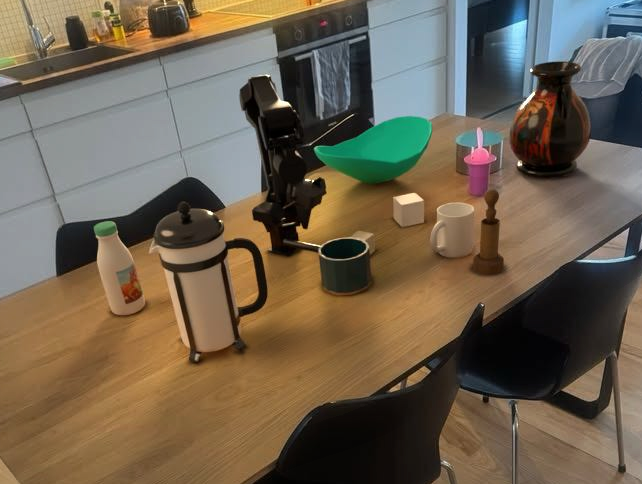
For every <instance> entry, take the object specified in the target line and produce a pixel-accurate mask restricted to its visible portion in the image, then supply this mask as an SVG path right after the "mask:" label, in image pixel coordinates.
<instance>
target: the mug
mask: <svg viewBox="0 0 642 484" xmlns="http://www.w3.org/2000/svg"><path fill="white" fill-rule="evenodd" d="M474 223H475V207H474V206H473V205H472V204H469V203H466V202H449V203H445V204H442V205H440V206H439V207H437V209H436V223H435V225H434V226H433V228H432V230H431V232H430V237H429V244H430V248H431V249H432V250H433V252H436V253H438V254H439V255H440V256H442V257H444V258H450V259H457V258H458V259H460V258H464V257H466V256H469V255H470V254H471V253H472V252H473V248H474V228H475V226H474V225H475V224H474Z"/></svg>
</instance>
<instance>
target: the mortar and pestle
mask: <svg viewBox="0 0 642 484" xmlns="http://www.w3.org/2000/svg"><path fill="white" fill-rule="evenodd" d="M483 199H484V201H485V203H486V205H487V209H485V217H486V218H482V219H481V221H480V240H479V252H478V253H477V254H476V255H474V256H473V259H472V269H473V271H475V272H476V273H478V274H482V275H483V274H484V275H496V274H499V273H501V272H502V271H503V270H504V265H505V263H504V262H505V259H504V256H502V255H501V254H500V253H499V241H500V240H499V239H500V227H501V226H500V225H501V220H500V219H499V218H497V217H496V215H497V212H498V210H497V209H496V207H495V206H496V204H497V203H498V201H499V199H500V194H499V192H498V190H496V189H495V188H490V189H487V190H486V191H485V192H484V195H483Z"/></svg>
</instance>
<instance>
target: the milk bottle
mask: <svg viewBox="0 0 642 484" xmlns="http://www.w3.org/2000/svg"><path fill="white" fill-rule="evenodd" d="M93 230H94V234H95V238H96V239H97V240H98V247H97V256H96V265H97V269H98V272H99V276H100V279H101V283H102V286H103V289H104V292H105V295H106V298H107V301H108V305H109V307H110V310H111V312H112V313H113V314H115V315H118V316H128V315H133V314H135V313H137V312H139V311H141V310H142V309H143V308H144V307H145V304H146V299H145V296H144V292H143V289H142V285H141V281H140V277H139V275H138V272H137V268H136V265H135V264H136V263H135V261H134V259H133V256H132V254H131V252H130V251H129V249H128V247H126V245H125V244H124V243H123V242H122V241H121V239H120V237H119V235H118V234H119V231H118V228H117V224H116V223H115V222H114V221H112V220H110V221H109V220H108V221H107V220H106V221H102V222H98V223H96V224H95V225H94V226H93Z"/></svg>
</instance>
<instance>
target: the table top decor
mask: <svg viewBox="0 0 642 484" xmlns="http://www.w3.org/2000/svg"><path fill="white" fill-rule="evenodd" d="M432 135H433V123H432V122H431V121H430V120H429V119H427V118H425V117H421V116H416V115H415V116H414V115H407V116H397V117H394V118H391V119H388V120H387V119H386V120H384V121H382V122H380V123H378V124H376V125H373V126H372V127H370V128H368V129H367V130H365V131H364V132H362V133H361V134H359V135H358V136H355V137H353V138H350V139H348V140H344V141H342V142H340V143H338V144H334V145H333V146H332V145H317V146H315V147H314V148H313V151H314V153H315V156H316V157H317V158H318V159H319V160H320V161H321V162H322V163H323V164H324V165H326V166H328V167H330V168H331V169H333V170H334V171H337V172H339V173H341V174H343V175H345V176H348V177H350V178H352V179H354V180H357V181H359V182H360V183H363V184H369V185H370V184H371V185H373V184H380V183H385V182H388V181H391V180H394V179H396V178H399V177H401V176H402V175H404V174H406V173H408V172H410V170H411V169H413V168H414V167H415V166H416V165H417V163H418V162H419V161H420V160H421V157H422V156H423V155H424V153H425V152H426V150H427V148H428V146H429V143H430V141H431V138H432Z"/></svg>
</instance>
